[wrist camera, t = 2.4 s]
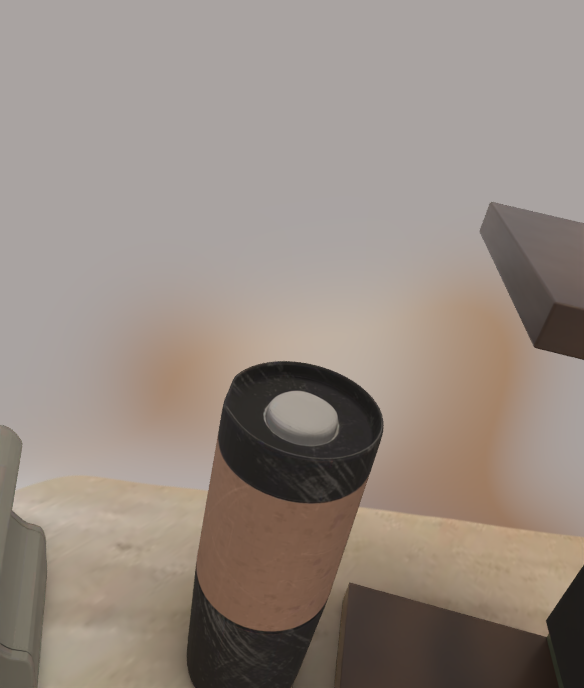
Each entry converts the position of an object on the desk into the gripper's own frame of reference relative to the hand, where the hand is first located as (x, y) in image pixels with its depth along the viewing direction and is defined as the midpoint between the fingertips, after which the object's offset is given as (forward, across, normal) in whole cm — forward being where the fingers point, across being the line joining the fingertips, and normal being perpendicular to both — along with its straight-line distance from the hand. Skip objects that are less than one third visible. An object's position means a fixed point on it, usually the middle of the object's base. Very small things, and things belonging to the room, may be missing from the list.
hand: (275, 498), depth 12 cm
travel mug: (+12, 0, -26) cm, 29 cm away
